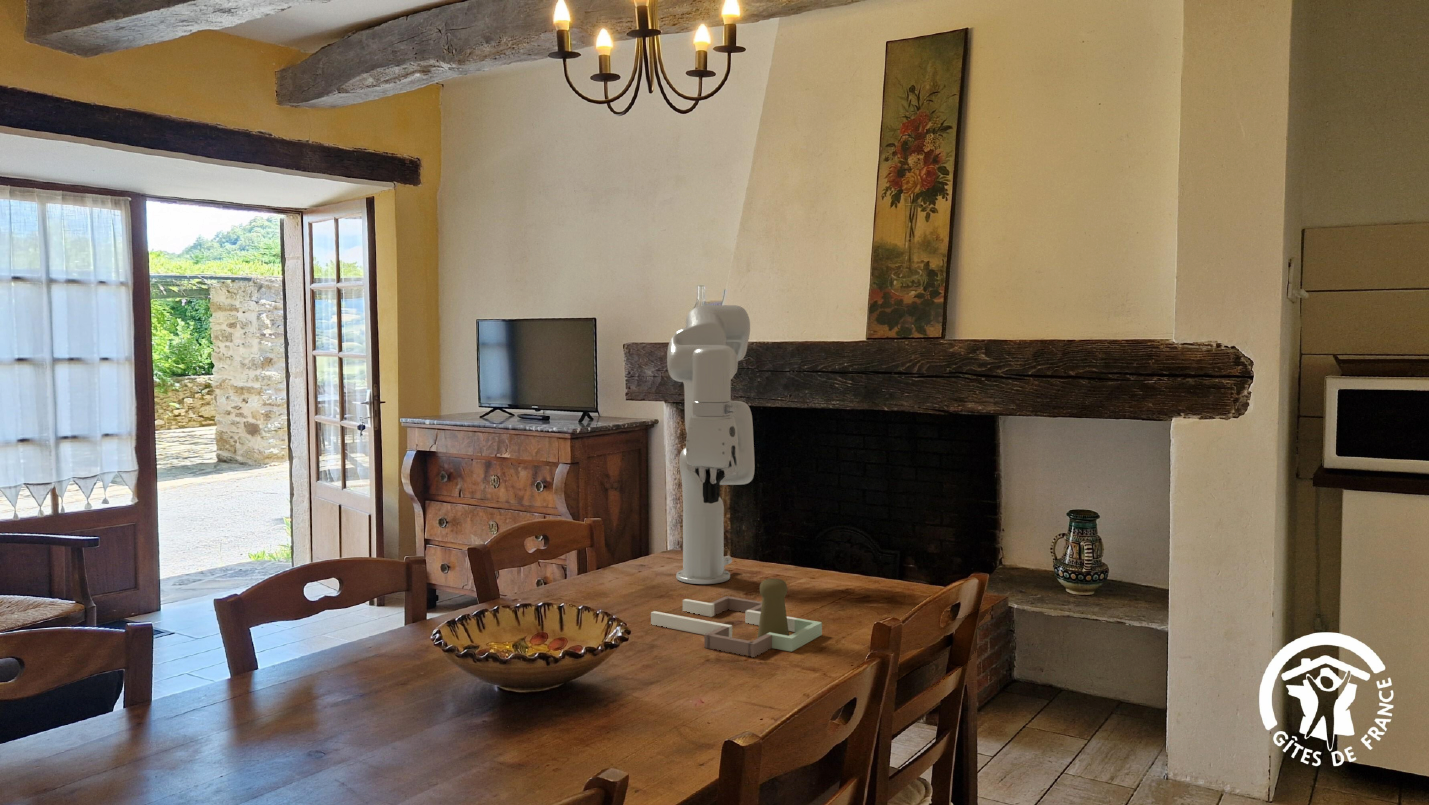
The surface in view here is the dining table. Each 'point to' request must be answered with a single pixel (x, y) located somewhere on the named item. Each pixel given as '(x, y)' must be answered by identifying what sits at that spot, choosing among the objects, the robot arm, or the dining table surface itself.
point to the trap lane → (722, 633)
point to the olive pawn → (773, 608)
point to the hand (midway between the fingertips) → (711, 502)
